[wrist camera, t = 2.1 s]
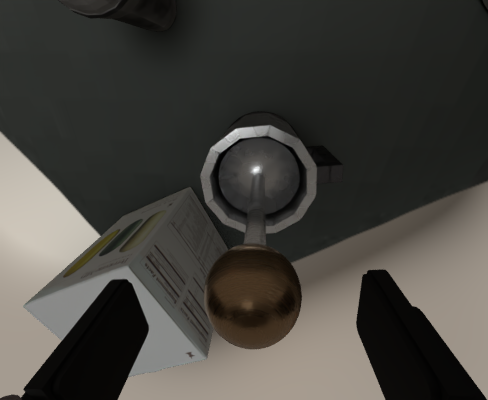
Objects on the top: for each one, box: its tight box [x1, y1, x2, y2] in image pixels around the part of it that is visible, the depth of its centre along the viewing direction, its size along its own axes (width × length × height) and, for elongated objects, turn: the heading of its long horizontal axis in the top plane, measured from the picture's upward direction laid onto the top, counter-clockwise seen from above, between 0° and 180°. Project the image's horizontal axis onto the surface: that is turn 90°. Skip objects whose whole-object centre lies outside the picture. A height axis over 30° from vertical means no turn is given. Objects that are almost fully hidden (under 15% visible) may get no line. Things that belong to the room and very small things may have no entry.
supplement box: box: [23, 187, 228, 377], centre depth 30 cm, size 13×13×18 cm
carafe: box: [200, 112, 343, 233], centre depth 26 cm, size 13×10×12 cm
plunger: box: [203, 137, 302, 349], centre depth 15 cm, size 8×8×16 cm
